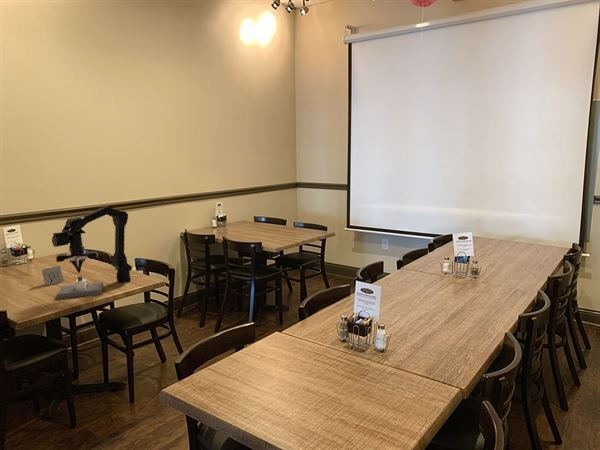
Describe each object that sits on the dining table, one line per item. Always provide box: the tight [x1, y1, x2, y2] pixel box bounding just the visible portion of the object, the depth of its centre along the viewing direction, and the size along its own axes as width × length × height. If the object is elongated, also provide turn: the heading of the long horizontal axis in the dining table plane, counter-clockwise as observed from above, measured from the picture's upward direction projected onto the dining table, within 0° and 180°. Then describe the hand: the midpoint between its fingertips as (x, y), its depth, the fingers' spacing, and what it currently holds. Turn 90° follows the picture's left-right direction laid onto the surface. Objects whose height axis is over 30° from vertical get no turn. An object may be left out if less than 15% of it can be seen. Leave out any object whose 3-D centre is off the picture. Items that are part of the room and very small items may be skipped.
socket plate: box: [56, 281, 105, 300], centre depth 234 cm, size 20×13×2 cm, turn 107°
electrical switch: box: [41, 265, 65, 286], centre depth 251 cm, size 9×5×9 cm, turn 141°
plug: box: [74, 275, 87, 290], centre depth 233 cm, size 4×4×8 cm
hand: (79, 272), depth 232 cm, fingers closed
